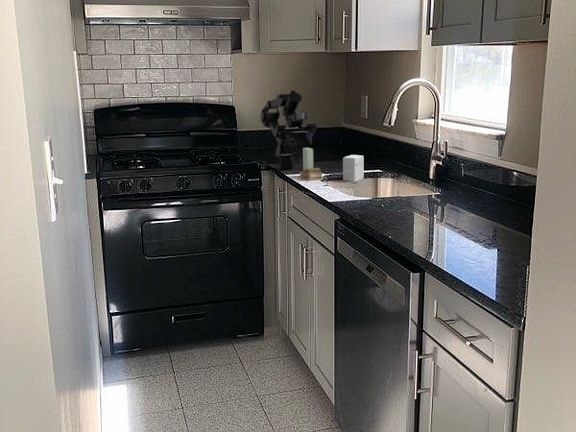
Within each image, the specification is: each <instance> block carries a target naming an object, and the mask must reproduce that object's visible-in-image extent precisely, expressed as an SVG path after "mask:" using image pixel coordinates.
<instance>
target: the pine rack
mask: <svg viewBox="0 0 576 432" xmlns="http://www.w3.org/2000/svg"><path fill="white" fill-rule="evenodd" d="M297 177H299V178H300V179H303V180H305V181H307V182H311V181H312V182H313V181H322V180H324V178H323V172H322V169H320V167H315V168H314V167H313V168H312V169H302V171H300V172H299V175H297Z"/></svg>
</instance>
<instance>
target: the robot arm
mask: <svg viewBox="0 0 576 432" xmlns="http://www.w3.org/2000/svg"><path fill="white" fill-rule="evenodd" d="M302 99H303V97H302V95H301V94H300V93H299V92H296V90H290V92H289V93H279V94H277V95H276V98H274V99H270V100H267V101H266V104H265V106H264V107H263V108H262V109H261V112H260V118H259V119H260V123H261V124H262V126H264V127H265V128H268V129H270V131H271V133H272V135H273V136H274V138H275V140H276V141H277V148H276V149H275V156H276V158H278V168H277V171H290V170H292V171H294V170H296V169H297V168H296V166H295V165H296V163H295V158H294V157H297V155H298V143H297V142H296V140H295V138H294V136H292V135H289V133H305V138H306V140H307V143H308V144H309V146H312V144H313V143H312V142H313V136H314V135H315V134H316V132H317V130H318V124H317V123H316V122H307V124H306V126H303V125H304V121H306V120H308V118H309V114H308V111H302V112H298V111H297V110H299V107H300V104H301V101H302ZM279 108H282V116H283V117H284V119H285V124H280V123H279V120H280V115H281V112H280V111H279ZM274 109H276V111H271V112H269V111H270V110H274Z"/></svg>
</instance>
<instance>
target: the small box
mask: <svg viewBox="0 0 576 432" xmlns="http://www.w3.org/2000/svg"><path fill="white" fill-rule="evenodd" d="M364 161H365V159H364V155H359V154H350V155H346V156H344V157H342V179H343V181H346V182H347V181H349V182H352V184H356V183H358V181H360V180H362V179H364V176H365V175H364V171H365V170H364V166H365V164H364ZM356 181H357V182H356Z"/></svg>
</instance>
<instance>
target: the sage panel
mask: <svg viewBox="0 0 576 432" xmlns="http://www.w3.org/2000/svg"><path fill="white" fill-rule="evenodd" d="M302 167H303V169H312V168H314V148H311V147H303V148H302ZM303 169H302V170H303Z"/></svg>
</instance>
